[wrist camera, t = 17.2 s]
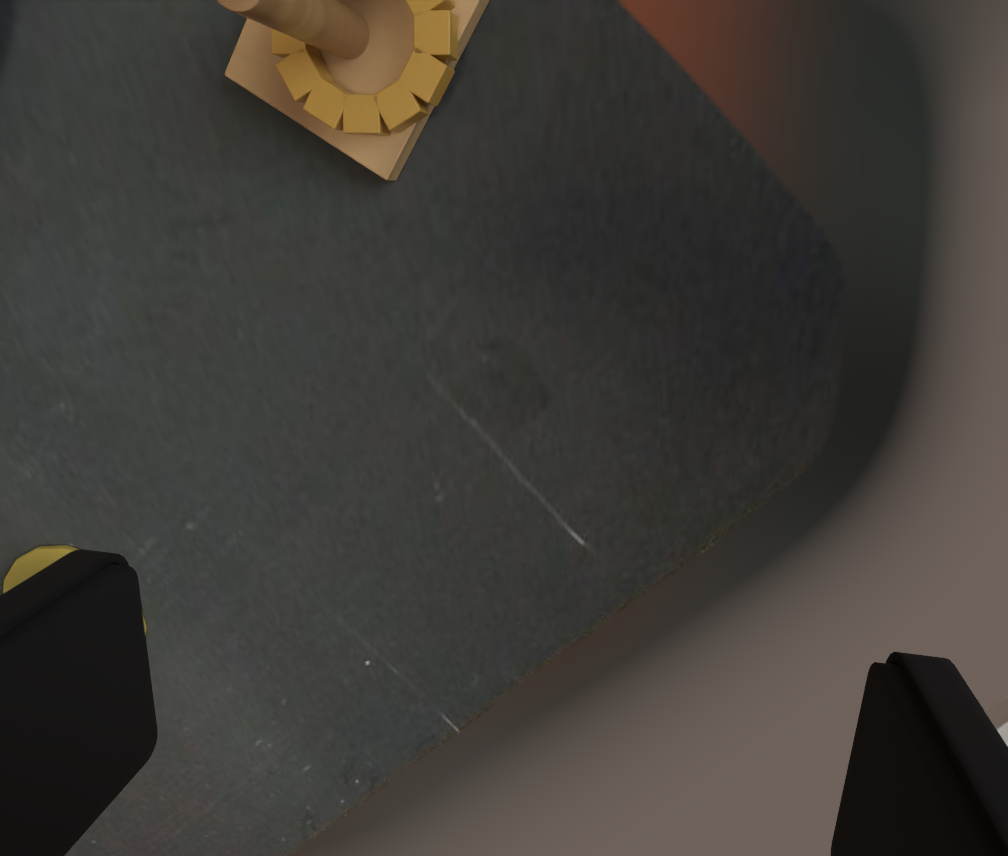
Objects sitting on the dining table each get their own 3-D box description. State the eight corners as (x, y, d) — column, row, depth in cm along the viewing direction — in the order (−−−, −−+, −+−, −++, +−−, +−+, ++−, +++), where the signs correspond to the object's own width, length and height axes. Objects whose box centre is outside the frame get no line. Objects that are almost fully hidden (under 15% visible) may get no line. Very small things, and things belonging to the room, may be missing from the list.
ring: (492, 1, 32) (484, -8, 31) (404, 169, 35) (393, 169, 33) (334, -104, 32) (319, -118, 30) (258, 74, 35) (241, 69, 33)
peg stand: (490, 0, 33) (420, -88, 23) (396, 180, 37) (295, 179, 26) (319, -113, 33) (166, -256, 22) (239, 79, 36) (71, 34, 26)
